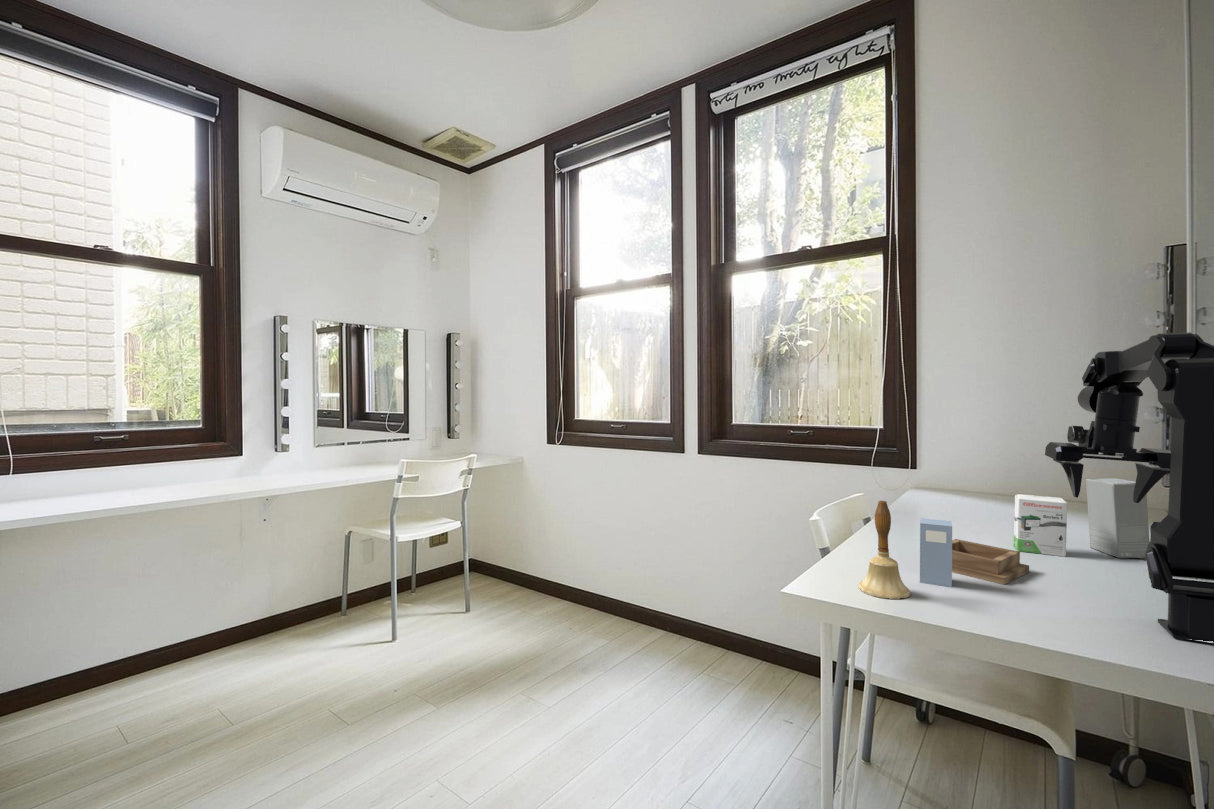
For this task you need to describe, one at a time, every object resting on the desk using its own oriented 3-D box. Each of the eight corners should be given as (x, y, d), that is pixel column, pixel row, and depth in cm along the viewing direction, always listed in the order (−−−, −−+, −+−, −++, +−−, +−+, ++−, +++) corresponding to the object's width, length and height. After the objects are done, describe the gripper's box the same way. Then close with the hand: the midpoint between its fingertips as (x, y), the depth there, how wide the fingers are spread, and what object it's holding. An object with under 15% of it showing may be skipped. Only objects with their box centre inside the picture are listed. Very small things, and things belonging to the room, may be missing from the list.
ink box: (1016, 551, 119) (1017, 497, 119) (1013, 545, 124) (1013, 493, 123) (1067, 557, 115) (1068, 501, 115) (1062, 551, 119) (1062, 497, 119)
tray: (1004, 584, 99) (1004, 564, 99) (923, 564, 111) (923, 546, 111) (1029, 571, 106) (1029, 552, 106) (950, 554, 118) (950, 537, 118)
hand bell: (870, 599, 93) (871, 506, 92) (850, 582, 101) (850, 496, 101) (920, 599, 93) (921, 506, 92) (895, 582, 101) (896, 496, 100)
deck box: (951, 587, 98) (952, 526, 98) (919, 582, 101) (920, 523, 101) (950, 579, 102) (951, 520, 102) (919, 575, 105) (920, 518, 104)
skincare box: (1151, 560, 113) (1153, 483, 112) (1112, 558, 114) (1113, 482, 113) (1120, 548, 121) (1121, 476, 121) (1083, 546, 122) (1084, 476, 122)
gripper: (1153, 416, 107) (1143, 494, 108) (1038, 410, 113) (1030, 484, 115) (1191, 424, 96) (1178, 510, 98) (1061, 417, 102) (1052, 498, 104)
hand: (1105, 499), depth 104 cm, fingers open, 9 cm apart
